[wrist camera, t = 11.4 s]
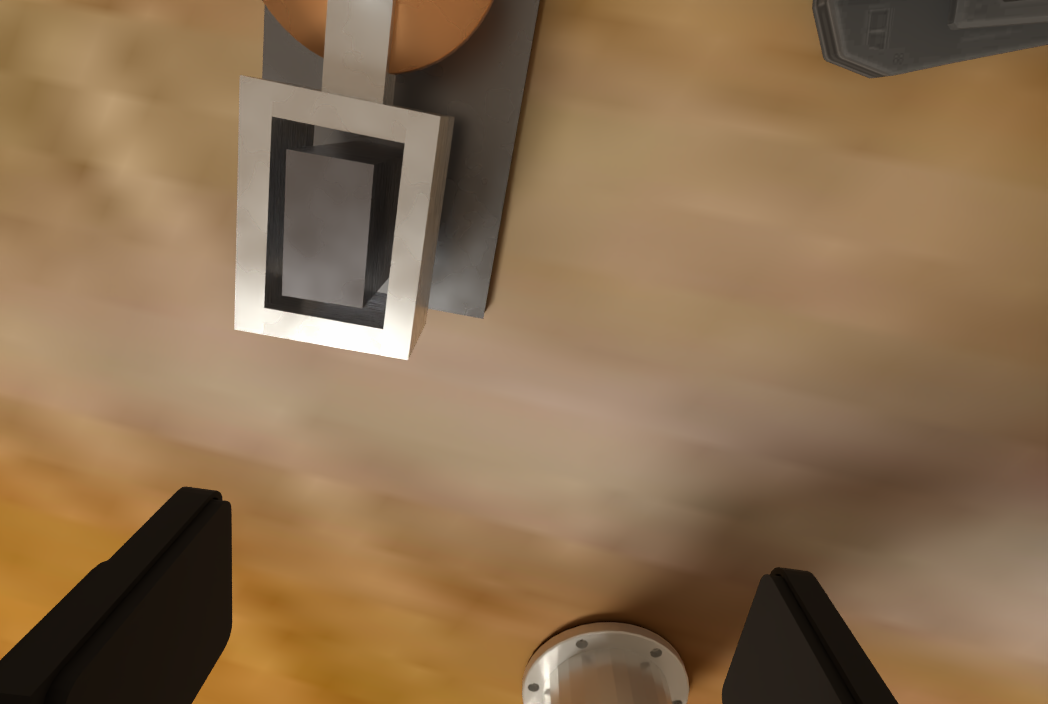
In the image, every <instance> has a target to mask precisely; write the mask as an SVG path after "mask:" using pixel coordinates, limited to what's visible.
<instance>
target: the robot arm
mask: <svg viewBox="0 0 1048 704" xmlns="http://www.w3.org/2000/svg"><path fill="white" fill-rule="evenodd" d="M231 628H232V524H231V504H230V502H228V501H222V495H221V493H220V492H218V491H214V490H207V489H200V488H192V487H182V488H181V489H179V490H178V491H177V492H176V493H175V494H174V495H173V496H172V497H171V498H170V499H169V500H168V501H167V502H166V503H165V504H164V505H163V506H162V507H161V508H160V509H159V510H158V511H157V512H156V513H155V514H154V515H153V516H152V517H151V518H150V519H149V520H148V521H147V522H146V523H145V524H144V525H143V526H142V527H141V528H140V529H139V530H138V531H137V532H136V533H135V534H134V535H133V536H132V537H131V538H130V539H129V540H128V541H127V542H126V543H125V544H124V545H123V546H122V547H121V548H120V549H119V550H118V551H117V552H116V553H115V554H114V555H113V556H112V557H111V558H110V559H109V560H107V561H105V562H102V563H100V564H99V565H97V566H96V567H95V568H94V569H92V570H91V571H90V572H89V573H88V574H87V575H86V576H85V577H84V578H83V579H82V580H81V581H80V582H79V583H78V584H77V585H76V586H75V587H74V588H73V589H72V590H71V591H70V592H69V593H68V594H67V595H66V596H65V597H64V598H63V599H62V600H61V601H60V602H59V603H58V604H57V605H56V606H55V607H54V608H53V609H52V610H51V611H50V612H49V613H48V614H47V615H46V616H45V617H44V618H43V619H42V620H41V621H40V622H39V623H38V624H37V625H36V626H35V627H34V628H33V629H32V630H31V631H30V632H29V633H27V634H26V635H25V636H24V637H23V638H22V639H21V640H20V641H19V642H18V643H17V644H16V645H15V646H14V647H13V648H12V649H11V650H10V651H9V652H8V653H7V654H6V655H5V656H4V657H3V658H2V659H1V660H0V704H192V702H193V701H194V699H195V697H196V695H197V694H198V692H199V690H200V689H201V687H202V685H203V684H204V682H205V680H206V679H207V677H208V675H209V674H210V672H211V670H212V669H213V667H214V665H215V664H216V662H217V660H218V659H219V657H220V655H221V654H222V652H223V650H224V648H225V646H226V645H227V642H228V640H229V637H230V633H231ZM688 695H689V682H688V676H687V673H686V669H685V666H684V663H683V661H682V659H681V657H680V656H679V654H678V652H677V651H676V650H675V649H674V648H673V647H672V645H671V644H670V643H669V642H667V641H666V640H665V639H663V638H662V637H660V636H659V635H658V634H656V633H653V632H651V631H649V630H647V629H645V628H642V627H638V626H635V625H631V624H625V623H617V622H597V623H591V624H586V625H581V626H578V627H575V628H572V629H569V630H566V631H564V632H562V633H560V634H558V635H556V636H554V637H552V638H551V639H550V640H548V641H547V642H546V643H544V644H543V645H542V646H541V647H540V648H539V649H538V650H537V651H536V652H535V653H534V655H533V656H532V657H531V659H530V661H529V662H528V664H527V666H526V668H525V672H524V676H523V684H522V697H523V704H687V701H688ZM722 703H723V704H898V702H897V701H896V699H895V698H894V696H893V695H892V693H891V692H890V690H889V689H888V687H887V686H886V684H885V683H884V681H883V680H882V678H881V677H880V675H879V674H878V672H877V670H876V669H875V667H874V666H873V664H872V663H871V661H870V660H869V658H868V657H867V655H866V654H865V652H864V651H863V649H862V648H861V646H860V645H859V643H858V642H857V640H856V639H855V637H854V635H853V634H852V632H851V631H850V629H849V628H848V626H847V625H846V623H845V622H844V620H843V619H842V617H841V616H840V614H839V613H838V611H837V610H836V608H835V607H834V605H833V604H832V602H831V600H830V599H829V597H828V596H827V594H826V593H825V591H824V590H823V588H822V587H821V585H820V584H819V582H818V581H817V579H816V578H815V576H814V575H813V574H812V573H810V572H808V571H802V570H794V569H787V568H780V567H778V568H775V569H774V570H773V571H772V572H771V574H770V575H768V574H766V575H764V576H763V577H762V578H761V580H760V583H759V586H758V589H757V592H756V594H755V597H754V600H753V603H752V606H751V608H750V611H749V614H748V617H747V620H746V623H745V625H744V628H743V631H742V634H741V637H740V640H739V642H738V645H737V648H736V651H735V654H734V656H733V659H732V662H731V665H730V668H729V671H728V673H727V676H726V679H725V682H724V685H723V689H722Z"/></svg>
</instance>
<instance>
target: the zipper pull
mask: <svg viewBox="0 0 1048 704" xmlns="http://www.w3.org/2000/svg"><path fill="white" fill-rule="evenodd" d="M812 9H813V13H814V18H815V22H816V27H817V31H818V36H819V40H820V45H821V49H822V54H823V58H824V60H826V61H827V62H830V63H832V64H835V65H837V66H840V67H843V68H845V69H848V70H850V71H853V72H855V73H858V74H860V75H863V76H865V77H868V78H876V77H884V76H893V75H898V74H903V73H908V72H913V71H917V70H922V69H927V68H932V67H936V66H941V65H946V64H950V63H955V62H960V61H966V60H971V59H976V58H981V57H986V56H991V55H996V54H1002V53H1007V52H1012V51H1017V50H1022V49H1027V48H1033V47H1038V46H1043V45H1048V0H813V6H812Z"/></svg>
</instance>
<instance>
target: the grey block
mask: <svg viewBox="0 0 1048 704" xmlns="http://www.w3.org/2000/svg"><path fill="white" fill-rule="evenodd" d="M403 154H404V149H401V148H395V147H389V146H384V145H378V144H373V143H367V142H362V141H350V142H342V143H334V144H325V145H317V146H309V147H301V148H292V149H286V177H285V210H284V243H283V277H282V295H283V296H289V297H295V298H301V299H307V300H313V301H319V302H326V303H332V304H338V305H344V306H350V307H356V308H363V307H364V306H365V305H366V304H367V303H368V302H369V300H370V299H371V298H372V297H373V296H374V295H375V293H376V292H377V291H378V290H379V289H380V288H381V286H382V285H383V284H384V283H385V282H386V281H387V279H388V278H389V276H390V267H391V258H392V250H393V241H394V232H395V224H396V215H397V206H398V198H399V189H400V180H401V172H402V163H403Z"/></svg>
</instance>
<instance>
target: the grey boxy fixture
mask: <svg viewBox="0 0 1048 704" xmlns="http://www.w3.org/2000/svg"><path fill="white" fill-rule="evenodd" d="M263 2H264V3H265V15H264V45H263V75H262V79H261V78H255V77H248V76H242V75H240V93H239V140H238V187H237V234H236V281H235V328H234V329H235V330H241V331H246V332H252V333H258V334H263V335H269V336H275V337H280V338H286V339H292V340H297V341H303V342H308V343H314V344H320V345H325V346H331V347H337V348H342V349H348V350H354V351H359V352H365V353H371V354H376V355H382V356H387V357H393V358H399V359H404V360H408V359H409V357H410V355H411V353H412V351H413V349H414V347H415V345H416V343H417V341H418V338H419V336H420V334H421V332H422V330H423V328H424V326H425V324H426V318H427V311H428V309H433V310H439V311H444V312H450V313H455V314H460V315H466V316H471V317H477V318H482V319H483V317H484V312H485V306H486V301H487V295H488V289H489V284H490V278H491V272H492V267H493V261H494V255H495V250H496V244H497V239H498V233H499V227H500V222H501V216H502V210H503V205H504V199H505V193H506V188H507V182H508V177H509V171H510V165H511V160H512V154H513V148H514V143H515V137H516V131H517V126H518V120H519V115H520V109H521V103H522V98H523V92H524V86H525V81H526V75H527V69H528V64H529V58H530V53H531V47H532V41H533V36H534V30H535V24H536V19H537V13H538V7H539V2H540V0H263ZM350 141H362V142H367V143H373V144H378V145H384V146H389V147H395V148H401V149H404V154H403V163H402V172H401V180H400V189H399V198H398V206H397V215H396V224H395V232H394V241H393V250H392V258H391V267H390V276H389V278H388V279H387V281H386V282H385V283H384V284H383V285H382V286H381V288H380V289H379V290H378V291H377V292H376V293H375V295H374V296H373V297H372V298H371V299H370V300H369V302H368V303H367V304H366V305H365V306H364V307H363V308H356V307H350V306H344V305H338V304H332V303H326V302H319V301H313V300H307V299H301V298H295V297H289V296H283V295H282V277H283V243H284V210H285V177H286V149H292V148H301V147H309V146H317V145H325V144H334V143H342V142H350Z"/></svg>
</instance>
